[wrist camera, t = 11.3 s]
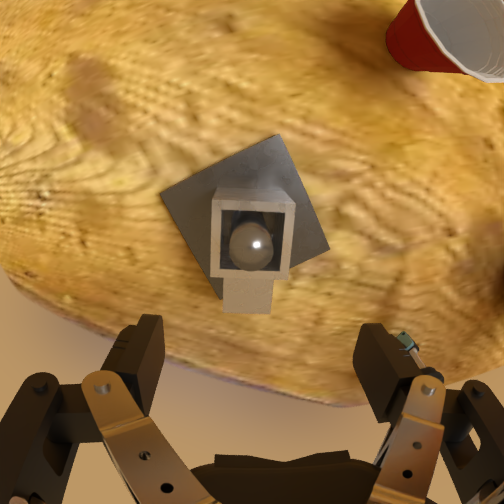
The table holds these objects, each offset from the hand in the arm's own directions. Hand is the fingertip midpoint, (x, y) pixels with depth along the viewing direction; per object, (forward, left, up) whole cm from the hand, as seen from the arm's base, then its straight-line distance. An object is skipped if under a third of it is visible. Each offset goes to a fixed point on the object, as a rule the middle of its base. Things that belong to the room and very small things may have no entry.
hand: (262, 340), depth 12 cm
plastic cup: (-23, -10, -19) cm, 32 cm away
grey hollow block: (+1, +2, -18) cm, 18 cm away
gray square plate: (0, 0, -19) cm, 19 cm away
